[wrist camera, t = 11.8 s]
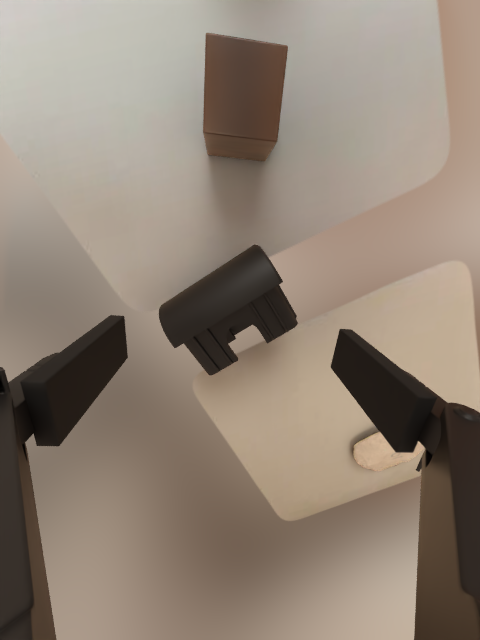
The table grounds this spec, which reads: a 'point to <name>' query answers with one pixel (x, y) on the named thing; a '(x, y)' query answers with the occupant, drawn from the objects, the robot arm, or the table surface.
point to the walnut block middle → (242, 96)
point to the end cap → (228, 309)
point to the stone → (380, 453)
